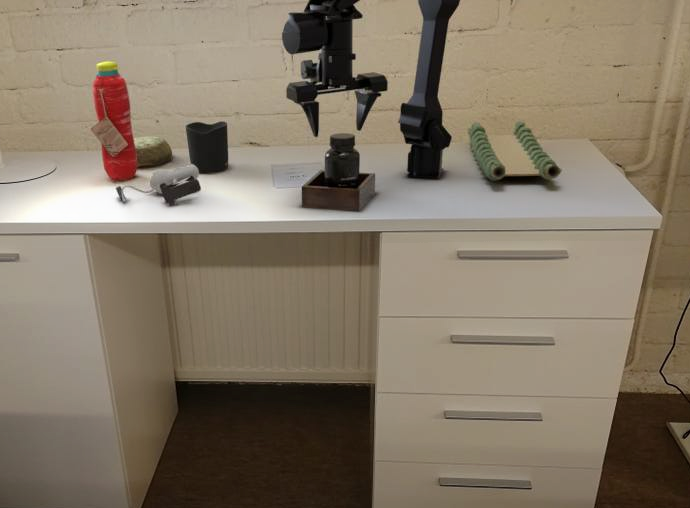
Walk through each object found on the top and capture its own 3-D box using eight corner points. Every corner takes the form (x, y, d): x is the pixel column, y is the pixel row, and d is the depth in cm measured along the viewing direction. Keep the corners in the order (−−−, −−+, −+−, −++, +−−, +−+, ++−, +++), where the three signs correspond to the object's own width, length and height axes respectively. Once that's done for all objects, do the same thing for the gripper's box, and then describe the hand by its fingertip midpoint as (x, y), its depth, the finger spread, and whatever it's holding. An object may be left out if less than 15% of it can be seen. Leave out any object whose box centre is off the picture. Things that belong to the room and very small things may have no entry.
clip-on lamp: (120, 223, 159) (203, 198, 157) (108, 195, 155) (194, 169, 154) (123, 200, 169) (202, 176, 167) (113, 173, 165) (193, 149, 163)
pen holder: (206, 177, 175) (202, 131, 170) (181, 169, 181) (177, 126, 176) (238, 167, 180) (235, 123, 175) (213, 161, 186) (209, 118, 181)
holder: (374, 193, 157) (375, 173, 155) (359, 211, 148) (359, 190, 146) (320, 189, 162) (320, 170, 160) (301, 207, 152) (301, 186, 150)
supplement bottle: (347, 203, 150) (347, 141, 145) (318, 199, 154) (317, 137, 148) (365, 194, 155) (366, 133, 149) (336, 189, 159) (336, 130, 153)
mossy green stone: (105, 165, 188) (102, 144, 186) (142, 152, 198) (139, 132, 195) (148, 171, 181) (145, 150, 179) (183, 157, 191) (181, 136, 188)
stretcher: (561, 190, 152) (565, 165, 150) (486, 191, 154) (488, 167, 152) (526, 139, 187) (529, 118, 185) (465, 141, 189) (467, 120, 187)
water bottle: (125, 187, 171) (108, 67, 159) (92, 186, 173) (73, 68, 161) (146, 172, 181) (132, 58, 169) (115, 171, 183) (99, 59, 171)
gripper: (362, 38, 152) (361, 119, 160) (273, 48, 147) (277, 131, 155) (390, 44, 143) (388, 130, 151) (296, 54, 138) (299, 143, 145)
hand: (337, 133), depth 150 cm, fingers open, 9 cm apart
